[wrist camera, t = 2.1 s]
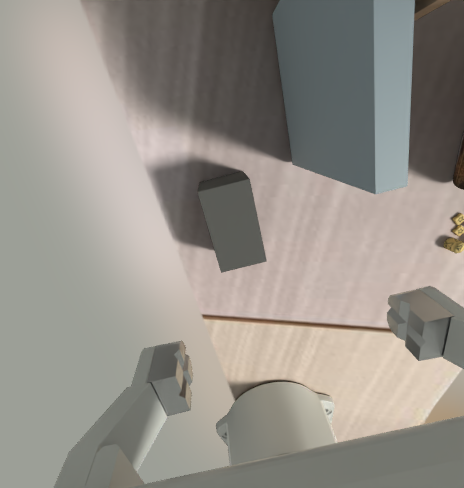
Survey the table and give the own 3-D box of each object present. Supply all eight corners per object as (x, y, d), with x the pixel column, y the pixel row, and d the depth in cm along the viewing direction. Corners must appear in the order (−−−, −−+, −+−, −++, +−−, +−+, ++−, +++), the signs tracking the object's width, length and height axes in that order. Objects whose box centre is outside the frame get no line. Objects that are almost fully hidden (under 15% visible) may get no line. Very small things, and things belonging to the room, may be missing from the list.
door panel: (308, 160, 26) (407, 186, 13) (292, 164, 26) (375, 194, 13) (291, 9, 21) (422, -194, 8) (272, 15, 21) (371, -180, 8)
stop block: (257, 241, 29) (266, 261, 25) (219, 251, 29) (221, 272, 25) (242, 171, 26) (249, 178, 21) (199, 182, 26) (197, 192, 22)
